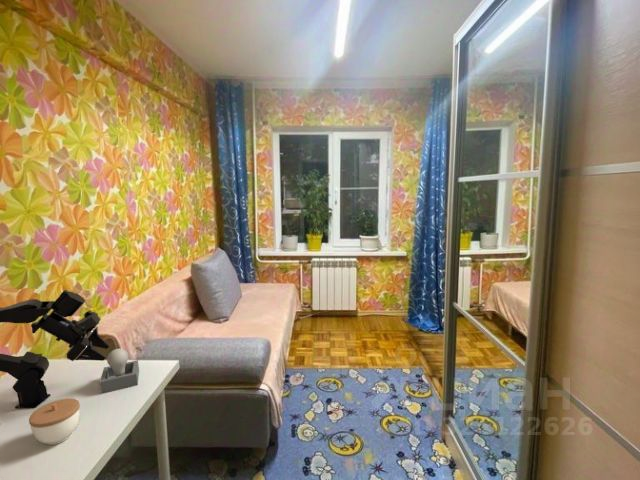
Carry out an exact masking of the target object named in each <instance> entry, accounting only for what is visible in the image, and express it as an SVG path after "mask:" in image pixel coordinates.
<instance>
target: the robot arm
mask: <svg viewBox="0 0 640 480" xmlns="http://www.w3.org/2000/svg"><path fill="white" fill-rule="evenodd" d="M85 303H86V300H85V299H84V297H83V296H81V295H80V294H79V293H77V292H76V293H75V292H73V291H69V290H67V289H64V290H63V291H62V292H61V293H60V295H59V296H58V298H56V299H55V300H47V301H46V300H44V301H41V300H39V299H37V298H30V299H28V300H23V301H21V302H16V303H14V304H12V305H11V304H10V305H7V306H5V307H0V323H9V324H30V323H31V325H30V327H31V333H32V334H34V335H35V333H36V332H37V331H38V330H39V329H41V330H43V331H44V332H46V333H48V334H49V335H51V336H53V337H55V338H56V339H55V340H56V341H57V342H60V341H63V342H64V343H66V344H68V348H69V349H68V351H67V353H66V358H67V359H68V360H70V361H71V362H74V361H82V360H85V361H105V359H106V356H105V355H103V354H102V352H100V351H98V350H97V349H95V348H101V349H106V350H107V349H108V348H109V347H110V345H109V344H108V343H107V342H106V340H104V339H103V337H101V335H100V334H99V329H98V326H97V325H99V324H100V321H101V318H100V317H99V316H98V315H99V314H98V312H96V311H91V310H88V311H85V312H84V314H83V317H82V319H79V320H76V319H72V320H69V319H68V317H73V315H75V314H76V312H77V311H78V310H79V309H80V308H81V307H82V306H83V305H84V304H85ZM51 310H52V311H51ZM50 311H51V312H50ZM38 319H39V320H38ZM37 320H38V321H37ZM94 347H95V348H94ZM49 366H50V362H49V360H48V358H47V357H46V356H43V353H34V352H31V351H26V352H25V353H24V355H21V356H20V355H18V356H15V355H9V354H5V353H0V372H1V373H6V374H8V375H10V376H11V377H13V378H14V379H15V380H16V381H15V383H14V384H13V386H12V387H11V388H12V389H13V390H14V391H15V393H16V394H17V401H18V404H16V405H15V406H14V408H15V409H33V408H34V409H35V408H37V407H39V405H40V406H41V404H42V403H44V402H45V401H46V400H47V399H48V398H50V397H51V393H48V389H47V386H46V385H45V381H44V380H43V377H44V376H45V374H46V372H47V370H48V369H49Z"/></svg>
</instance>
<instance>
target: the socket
mask: <svg viewBox="0 0 640 480" xmlns="http://www.w3.org/2000/svg"><path fill="white" fill-rule="evenodd" d="M139 376H140V366H139V360H138V359H137V360H132V361H127V363H126V365H125V372H124V375H122V376H117V377H116V376H115V374H114V371H113V369H112V368H111V367H110V366H109V365H108V366H106V367H105V366H104V367H103V370H102V373H101V376H100V380H99V387H100V393H101V395H102V394H106V393H110V392H114V391H118V390H123V389H126V388H132V387H135V386H138V385H139Z"/></svg>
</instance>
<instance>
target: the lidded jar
mask: <svg viewBox="0 0 640 480" xmlns="http://www.w3.org/2000/svg"><path fill="white" fill-rule="evenodd" d="M80 420H81V408H80V401H79V400H78V399H76V398H67V397H66V398H62V399H57V400H53V401H51V402H48V403H46V404H44V405H42V406H40V407H39V408H37V409H36V410H34V411H33V412H32V413H31V414H30V416H29V418H28V423H29V426H30V429H31V432H32V434H33V436H34V438H35V439H36V440H37V441H39V442H40V443H43V444H46V445H49V446H52V445H58V444H60V443H63V442H65V441H66V440H68V439H69V438H71V436H72V435H73V434H74V432H75V431H76V429H77V428H78V426H79V423H80Z"/></svg>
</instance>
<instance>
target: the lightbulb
mask: <svg viewBox="0 0 640 480" xmlns="http://www.w3.org/2000/svg"><path fill="white" fill-rule="evenodd" d="M128 360H129V354H128V352H127V351H126V350H125V349H123V348H115V349H113V350H111V351H110V352H109V353H108V355H107V359H106V362H107V365H108V366H110V367H111V368H112V369H113V371H114V374H115V376H116V377H117V376H122V375H124V372H125V365H126V363H127V362H128Z"/></svg>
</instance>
